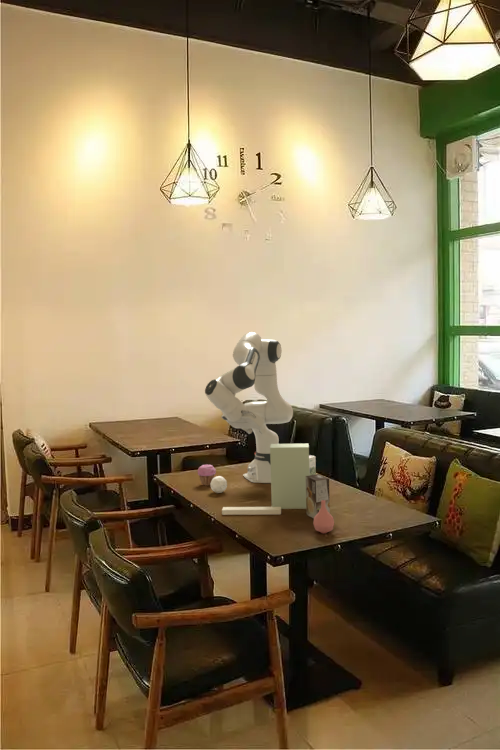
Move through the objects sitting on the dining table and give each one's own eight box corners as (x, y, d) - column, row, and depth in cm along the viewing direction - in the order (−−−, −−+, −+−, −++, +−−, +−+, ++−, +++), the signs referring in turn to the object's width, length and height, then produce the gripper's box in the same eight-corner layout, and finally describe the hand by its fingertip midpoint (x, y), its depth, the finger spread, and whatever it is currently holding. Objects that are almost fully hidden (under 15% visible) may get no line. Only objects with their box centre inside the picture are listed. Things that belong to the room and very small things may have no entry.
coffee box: (330, 518, 258) (330, 478, 257) (316, 520, 256) (315, 480, 255) (319, 512, 267) (318, 473, 266) (305, 514, 264) (304, 475, 263)
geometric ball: (218, 499, 300) (211, 488, 295) (212, 489, 306) (205, 478, 302) (232, 490, 301) (225, 479, 296) (225, 480, 307) (219, 469, 303)
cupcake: (219, 485, 315) (218, 464, 314) (203, 488, 310) (203, 467, 309) (210, 481, 323) (209, 461, 322) (194, 484, 318) (193, 464, 317)
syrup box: (305, 484, 312) (304, 454, 311) (316, 485, 309) (315, 455, 307) (299, 487, 307) (298, 456, 306) (310, 488, 304) (309, 458, 303)
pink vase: (315, 528, 247) (315, 497, 246) (335, 529, 244) (335, 498, 243) (311, 535, 239) (311, 503, 238) (332, 536, 237) (331, 504, 236)
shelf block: (271, 508, 274) (270, 447, 271) (272, 503, 281) (270, 443, 279) (310, 508, 272) (308, 447, 270) (309, 503, 280) (308, 443, 278)
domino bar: (280, 509, 265) (280, 514, 265) (280, 506, 269) (281, 511, 269) (222, 509, 267) (222, 514, 267) (223, 507, 271) (223, 512, 271)
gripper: (253, 404, 262) (275, 426, 268) (227, 406, 279) (247, 426, 284) (245, 416, 260) (267, 438, 265) (219, 417, 277) (240, 438, 282)
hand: (257, 432), depth 275 cm, fingers open, 8 cm apart
